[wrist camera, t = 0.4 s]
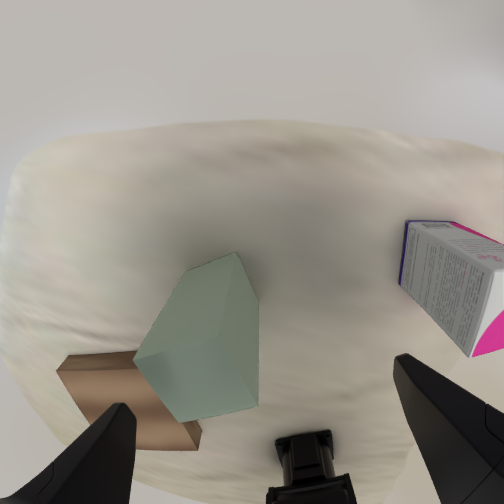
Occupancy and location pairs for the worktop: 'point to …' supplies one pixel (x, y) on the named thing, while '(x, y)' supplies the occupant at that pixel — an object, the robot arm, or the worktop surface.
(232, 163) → the worktop surface
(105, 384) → the walnut base
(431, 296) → the supplement box
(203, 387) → the sage block
